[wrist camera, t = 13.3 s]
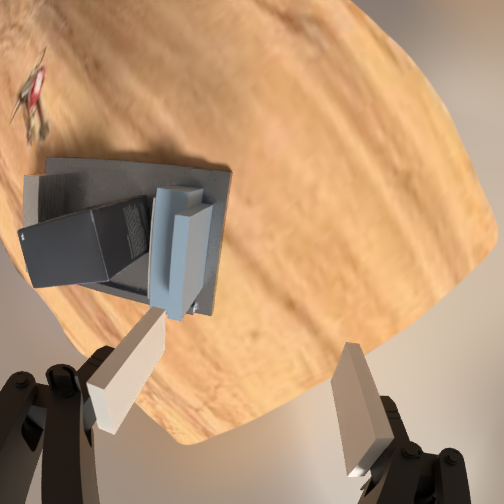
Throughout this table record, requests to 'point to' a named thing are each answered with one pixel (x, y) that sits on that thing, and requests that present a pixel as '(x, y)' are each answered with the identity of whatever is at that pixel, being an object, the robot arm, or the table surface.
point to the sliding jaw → (177, 248)
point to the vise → (120, 187)
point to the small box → (86, 243)
